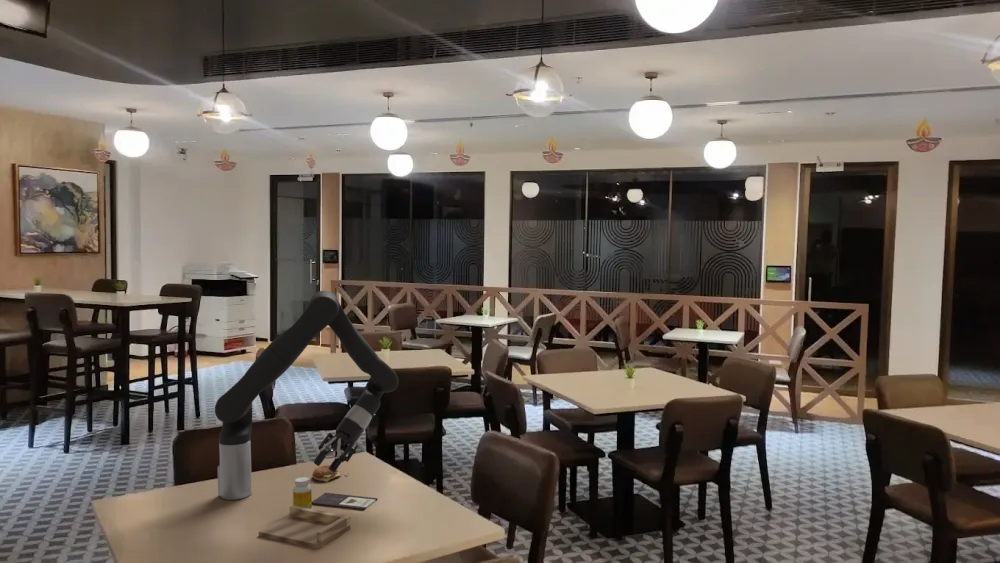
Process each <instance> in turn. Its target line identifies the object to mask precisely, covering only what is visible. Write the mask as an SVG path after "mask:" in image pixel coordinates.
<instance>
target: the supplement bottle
mask: <svg viewBox="0 0 1000 563" xmlns="http://www.w3.org/2000/svg"><path fill="white" fill-rule="evenodd" d="M312 499H313V498H312V486H311V485H310V478H309V477H304V476H303V477H297V478H295V480H294V487H293V488H292V506H293V505H294V506H299V507H305V508H310V509H313V507H312V506H313V505H312Z"/></svg>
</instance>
